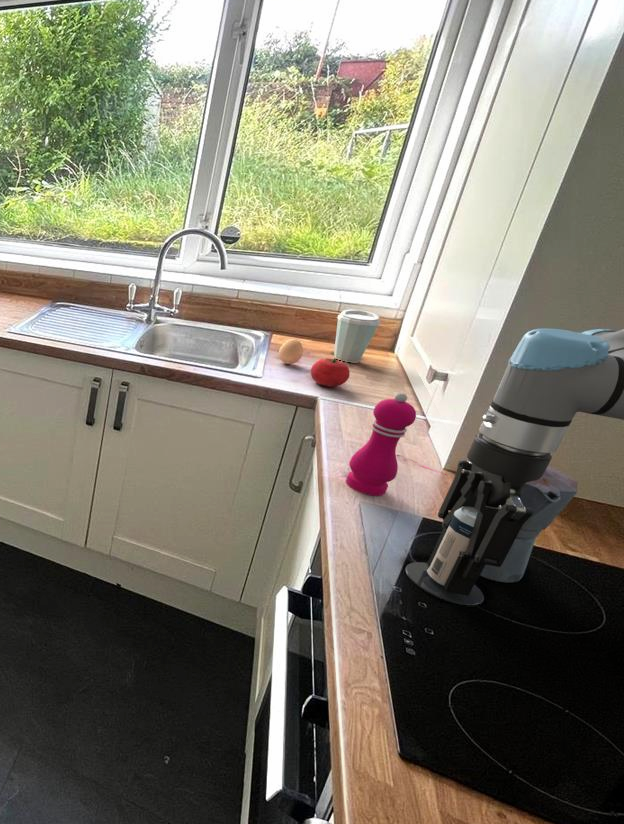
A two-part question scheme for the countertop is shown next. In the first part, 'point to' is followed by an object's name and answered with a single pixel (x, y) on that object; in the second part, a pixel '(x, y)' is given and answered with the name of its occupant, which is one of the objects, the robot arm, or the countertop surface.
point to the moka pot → (534, 521)
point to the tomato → (330, 372)
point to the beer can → (453, 544)
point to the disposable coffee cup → (354, 334)
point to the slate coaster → (440, 586)
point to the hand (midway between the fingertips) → (447, 579)
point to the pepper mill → (381, 447)
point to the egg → (291, 351)
